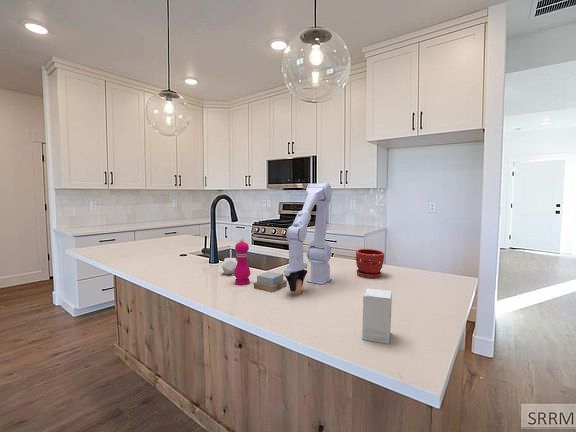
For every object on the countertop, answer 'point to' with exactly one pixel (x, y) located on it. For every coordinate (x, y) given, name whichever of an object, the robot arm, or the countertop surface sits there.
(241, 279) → the pepper mill
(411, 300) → the countertop surface
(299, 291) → the cylinder
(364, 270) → the plant pot
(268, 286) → the tower base
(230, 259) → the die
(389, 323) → the supplement box
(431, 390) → the countertop surface
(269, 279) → the tower top
